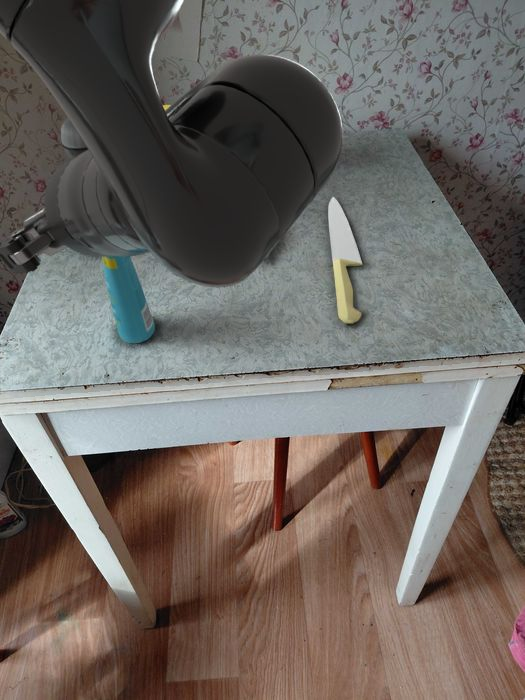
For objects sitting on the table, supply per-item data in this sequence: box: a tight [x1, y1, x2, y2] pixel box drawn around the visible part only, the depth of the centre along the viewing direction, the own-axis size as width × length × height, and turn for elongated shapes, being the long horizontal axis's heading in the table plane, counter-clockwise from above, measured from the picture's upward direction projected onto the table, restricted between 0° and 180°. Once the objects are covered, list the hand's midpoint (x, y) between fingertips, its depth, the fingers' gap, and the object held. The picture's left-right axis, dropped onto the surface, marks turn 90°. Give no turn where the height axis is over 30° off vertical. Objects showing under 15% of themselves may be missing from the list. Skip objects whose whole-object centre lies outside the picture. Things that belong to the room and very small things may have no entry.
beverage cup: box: [60, 117, 88, 160], centre depth 88 cm, size 7×7×20 cm
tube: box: [101, 256, 156, 344], centre depth 65 cm, size 7×5×19 cm, turn 23°
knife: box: [327, 196, 363, 325], centre depth 82 cm, size 1×32×5 cm
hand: (56, 217), depth 51 cm, fingers open, 8 cm apart
